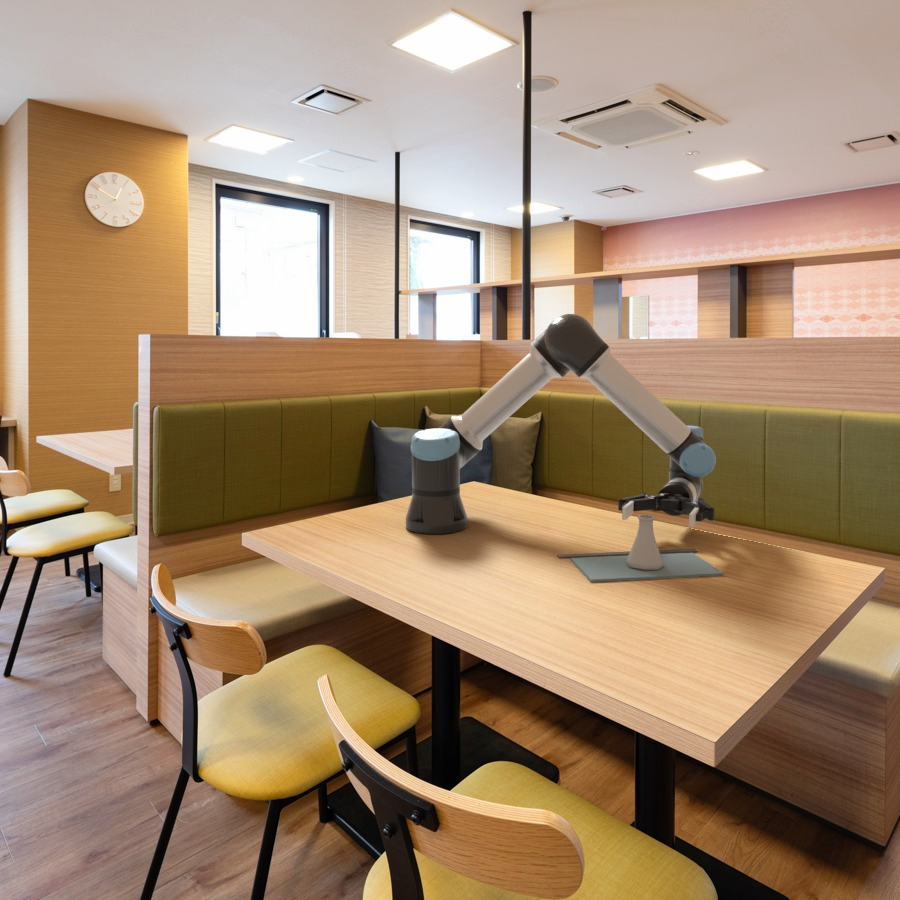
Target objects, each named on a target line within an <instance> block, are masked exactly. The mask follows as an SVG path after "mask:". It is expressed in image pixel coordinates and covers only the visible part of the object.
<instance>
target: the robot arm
mask: <svg viewBox="0 0 900 900" xmlns="http://www.w3.org/2000/svg"><path fill="white" fill-rule="evenodd" d="M529 347H530V349H529V350H530V351H529V353H528V354H526V355H525V357H523V358H522V359H521V360H520V361H519V362H518V363H516V364H515V366H514V367H512V368H511V369H510V370H509V371H508V372H507V373H506V374H504V376H503V377H501V378H500V379H499V380H498V381H497V382H496V383H495V384H494V385H493V386H492V387H490V389H488V390H487V391H486V392H485V393H484V394H483V395H481V397H480V398H478V399H477V400H476V401H475V402H474V403H473V404H472V405H471V406H470V407H468V409H466V410H465V411H464V412H463V413H462V414H461V415H451V416H450V417H449V418H448V419H447V420H446V421H445V422H444V423H443V424H442V425H441V426H439V427H438V428H437V427H436V428H425V429H424V430H422V429H421V430H419V431H417V432H415V433H414V434H413V435H412V437H411V443H410V452H411V453H410V454H411V459H410V461H411V487H412V488H411V492H412V493H411V494H412V495H411V498H410V502H409V506H408V509H407V511H406V512H407V513H406V516H405V528H406V529H407V530H408V531H410V532H413V533H419V534H425V535H441V534H442V535H443V534H452V533H456V532H457V533H458V532H460V531H463V530H465V529H466V528H467V527H468V515H467V513H466V510H465V507H464V504H463V503H464V502H463V500H462V497H461V493H460V492H461V485H460V484H461V483H460V482H461V480H460V478H461V475H460V472H461V469H462V468H464V467H465V465H466V464H467V463H468V462H470V461H471V460H472V459H473V458H474V457H475V456H477V454H478V453H479V452H480V451H482V450H483V446H484V445H483V442H484V441H485V439H486V438H488V437H489V436H490V435H491V434H492V433H493V432H495V430H496V429H498V428H499V426H501V425H502V424H503V423H505V421H506V420H508V418H510V417H511V416H512V415H513V414H514V413H516V412H517V411H518V410H519V409H520V408H521V407H522V406H523V405H524V404H525V403H526V402H528V401H529V400H530V399H532V397H533V396H534V395H535V394H537V393H538V392H539V391H540V390H542V388H543V387H545V385H547V384H548V383H550V381H551V380H552V379H555V378H556V379H557V378H558V379H562V378H564V377H565V376H566V375H568V373H570V372H573V373H574V374H575V375H576V376H577V377H578V378H579V379H587V380H588V381H589V382H590V383H591V384H592V385H593V386H594V387H595V388H597V390H598V391H600V393H602V394H603V396H605V397H606V398H607V399H608V400H609V401H610V402H611V403H612V404H613V405H614V406H615V407H617V408H618V410H620V411H621V412H622V413H623V415H625V417H627V418H628V419H629V420H630V421H631V422H633V424H634V425H635V426H636V427H638V428H639V429H640V430H641V432H643V433H644V434H645V435H646V436H647V437H648V438H649V439H650V440H651V441H653V442H654V444H656V445H657V446H658V447H659V448H660V449H661V450H662V451H663V452H664V453H665V454H667V456H668V457H669V470H668V471H669V472H668V482H667V483H666V484H665V485H663V486H662V487H661V489H660V490H659V491H658V493H657V494H653V495H650V496H649V495H648V493H646V492H642V493H641V494H638V495H632V496H628V497H627V496H626V497H622V498H618V504H617V505H618V506H617V508H618V509H617V510H618V511H621V514H622V515H621V517H622V518H621V520H622V521H626V520H627V519H628V518H630V517H632V515H633V514H634V512H640V511H653V512H661V511H662V512H663V513H665V514H667V515H669V516H672V517H673V516H674V517H676V516H682V515H688V516H689V517H688V528H694V526H695V525H696V524H697V523H698V522H702V521H705V519H707V520H708V521H714V519H715V507H713V506H712V505H710V504H709V503H707V502H705V499H704V498H700V497H701V496H702V495H701V494H702V493H703V490H704V482H703V480H702V477H706V476H707V475H709V474H710V473H712V471H714V468H715V467H716V464H717V456H716V454H715V451H714V450H713V449H712V446H710V445H709V444H708V443H707V444H706V443H705V442H704V439H705V438H704V429H703V428H702V427H701V426H697V425H687V424H685V423H684V422H683V421H682V420H681V419H680V418H679V417H678V416H677V415H676V414H674V413H673V411H671V409H669V408H668V407H667V406H666V405H665V404H664V402H662V401H661V400H660V399H659V398H658V397H657V396H656V395H655V394H653V392H652V391H650V390H649V388H647V387H646V386H645V385H644V384H643V382H641V381H640V380H639V379H638V378H636V376H634V374H632V373H631V372H630V371H629V370H628V369H627V368H626V367H625V366H624V365H623V364H622V363H621V362H620V361H618V359H616V358H615V357H614V356H613V354H611V347H610V345H608V344H607V343H606V342H605V341H604V340H603V338H601V336H600V335H599V334H598V333H597V331H596V330H595V329H594V327H593V326H592V325H591V323H590V322H589V321H588V320H587V319H586V318H584V316H581V315H580V314H579V315H578V314H576V313H565V314H562V315H560V316H557V317H556V318H554V319H553V320H552V321H551V322H550V323H549V325H548V326H547V328H545V330H543V332H542V333H540V335H538V336H537V337H536V338H535V339H534V340H533V341H532V342H530V346H529Z"/></svg>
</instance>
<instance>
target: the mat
mask: <svg viewBox="0 0 900 900" xmlns="http://www.w3.org/2000/svg"><path fill="white" fill-rule="evenodd" d="M660 555H661V558H662V561H663V564H664V566H663V567H661V568H660V569H659V570H643V569H637V568H632V567H629V566H628V565H627V563H626V560H627V558H628V555H623V556H600V557H578V558H570V561H571V562H572V564H573V565H574V566H575V567H576V566H577V567H576V568H577V569H578V568H579V569H578V570H579V571H580V573H582V574H583V576H584V577H585V576H586V577H587V578H588V579H587V578H586V577H585V578H586V579H587V580H588V581H589V582H590V583H599V582H600V581H601V583H602V582H603V583H604V581H606V582H621V581H624V580H626V581H641V580H642V581H643V580H646V581H647V580H664V579H666V580H667V579H684V578H683V577H688V578H700V577H699V576H708V577H723V576H722V575H724V576H725V572H723V571H721V570H720V569H718V568H717V567H715V566H714V565H713V564H711V563H709V562H708V561H706V560H704V559H703V558H701V557H700V556H698V555H697V554H696V553H695V552H690V553H667V554H660ZM624 582H625V581H624Z"/></svg>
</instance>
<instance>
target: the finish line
mask: <svg viewBox="0 0 900 900" xmlns="http://www.w3.org/2000/svg"><path fill="white" fill-rule="evenodd" d="M658 550H659V553H660V554H674V553H685V552H690V553H698V552H699V551H698V549H696V548H680V549H679V548H678V549H676V548H675V549H674V548H673V549H658ZM630 551H631V550H630ZM630 551H610V552H609V551H606V552H605V551H604V552H587V553H586V552H585V553H566V554H565V553H563V554H562V553H561V554H557V555H556V556H557V557H559V559H571V558H576V557H577V558H585V557H607V556H620V555H621V556H628V555H629V553H630Z"/></svg>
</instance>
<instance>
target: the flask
mask: <svg viewBox="0 0 900 900" xmlns="http://www.w3.org/2000/svg"><path fill="white" fill-rule="evenodd" d="M637 519H638V529H637V532H636V537H635V538H634V540H633V544H632V546H631V549H630V553H629V555H627V556H628V558H627V560H626V563H627V565H628V566H629V567H632V568H637V569H643V570H659V569H660V568H661V567H663V566H664V564H663V561H662V558H661V555H660V553H659V550H660V549H659V547H658V546H659V545H658V544H657V541H656V540H657V539H656V537H655V532H654V520H655V519H656V517H655V516H654V514H646V513H644V514H637Z"/></svg>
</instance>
